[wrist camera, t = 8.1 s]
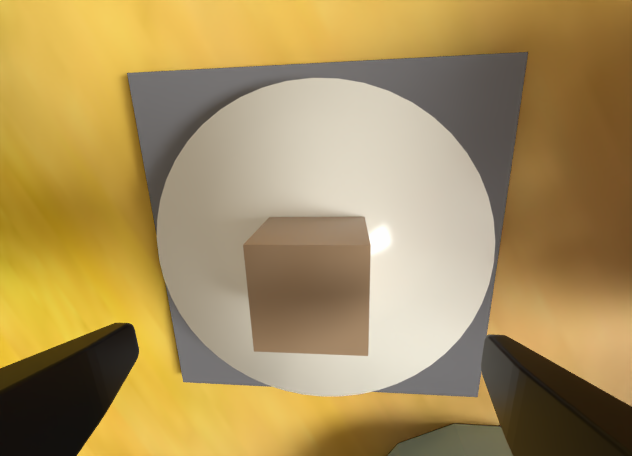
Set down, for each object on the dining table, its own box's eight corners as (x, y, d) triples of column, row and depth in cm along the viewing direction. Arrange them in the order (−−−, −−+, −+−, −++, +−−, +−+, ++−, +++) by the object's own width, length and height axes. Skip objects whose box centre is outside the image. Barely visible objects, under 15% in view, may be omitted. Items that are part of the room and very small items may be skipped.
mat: (188, 374, 18) (183, 382, 18) (136, 75, 14) (126, 72, 13) (473, 388, 17) (477, 397, 16) (519, 55, 12) (528, 51, 12)
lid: (193, 372, 18) (141, 453, 13) (146, 90, 13) (45, 69, 9) (464, 385, 16) (510, 481, 12) (504, 73, 12) (599, 37, 7)
